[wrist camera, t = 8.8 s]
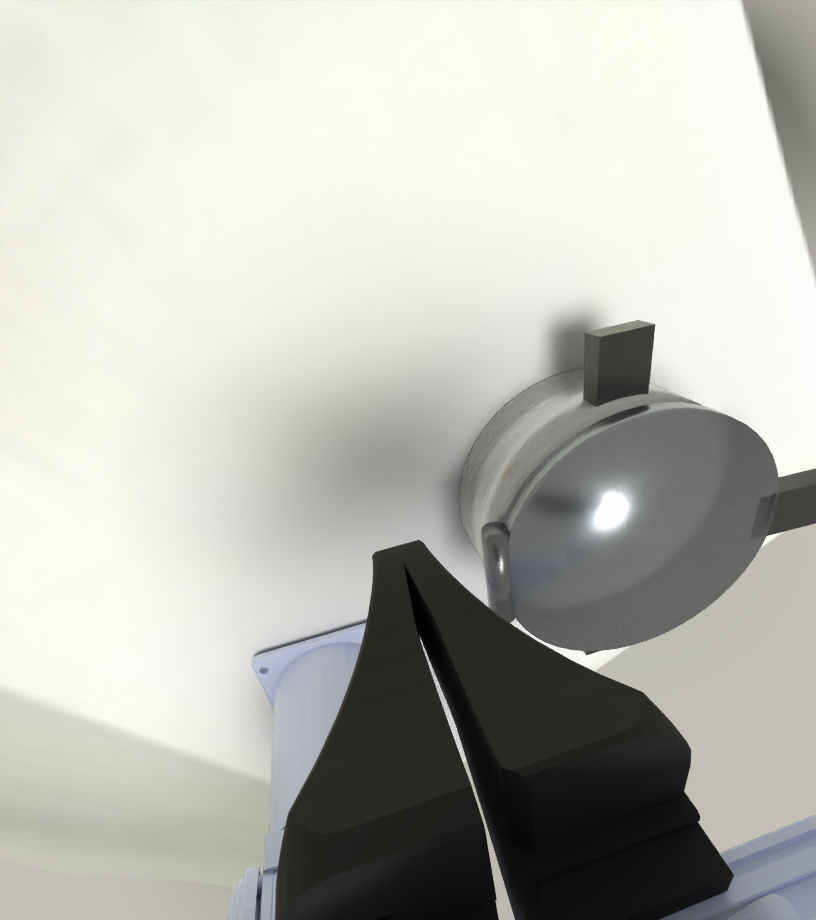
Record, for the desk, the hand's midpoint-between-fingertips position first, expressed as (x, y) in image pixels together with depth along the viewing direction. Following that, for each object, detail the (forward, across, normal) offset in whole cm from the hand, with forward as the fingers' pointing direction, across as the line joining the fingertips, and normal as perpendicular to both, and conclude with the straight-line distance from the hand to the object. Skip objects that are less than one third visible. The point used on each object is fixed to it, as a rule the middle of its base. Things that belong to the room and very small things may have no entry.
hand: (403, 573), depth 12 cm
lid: (+5, -12, +6) cm, 15 cm away
